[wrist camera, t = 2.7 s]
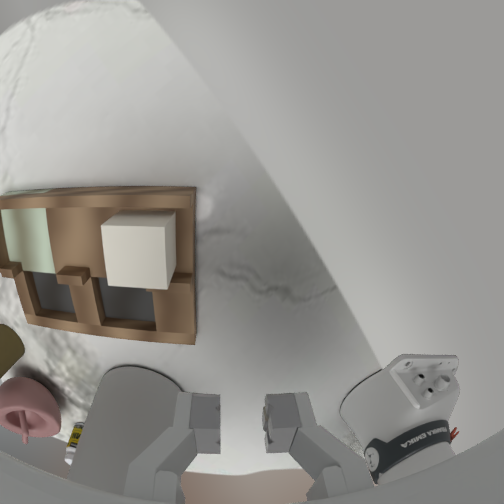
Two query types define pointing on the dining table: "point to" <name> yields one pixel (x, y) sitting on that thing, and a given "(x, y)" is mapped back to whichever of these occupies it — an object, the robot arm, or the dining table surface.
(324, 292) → the dining table surface
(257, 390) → the dining table surface
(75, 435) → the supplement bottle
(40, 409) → the mortar and pestle
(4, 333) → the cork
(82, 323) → the box
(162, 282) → the block
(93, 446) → the cylinder vase
